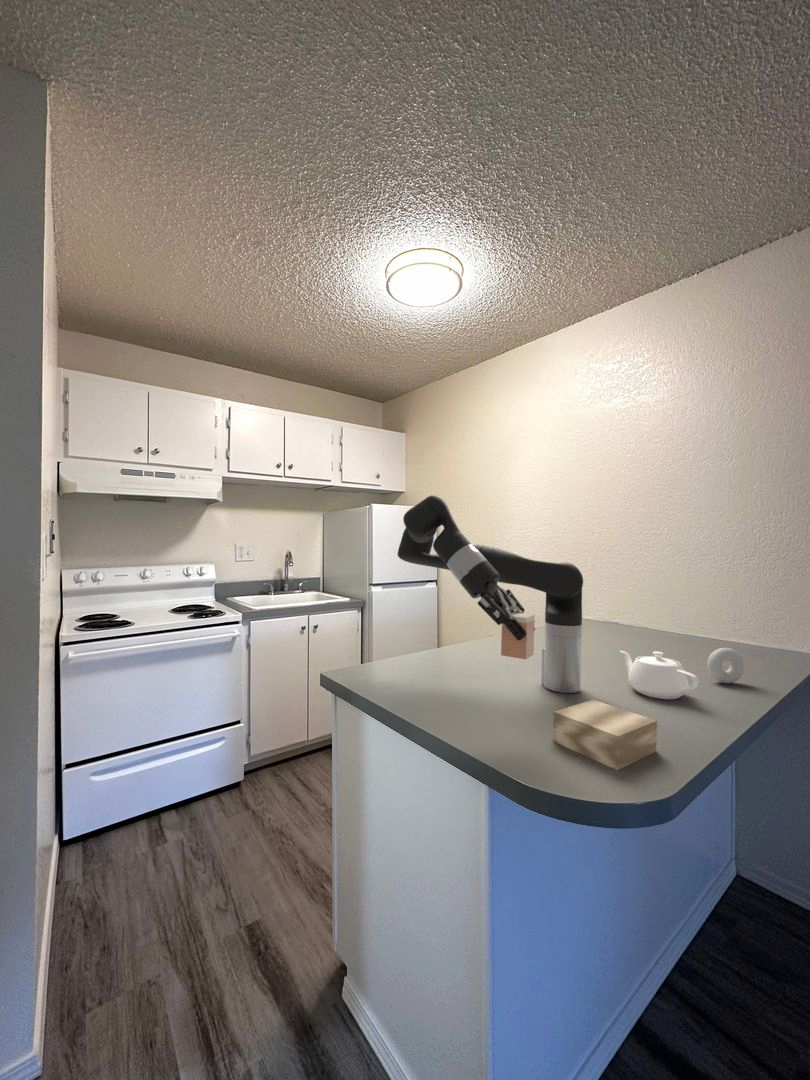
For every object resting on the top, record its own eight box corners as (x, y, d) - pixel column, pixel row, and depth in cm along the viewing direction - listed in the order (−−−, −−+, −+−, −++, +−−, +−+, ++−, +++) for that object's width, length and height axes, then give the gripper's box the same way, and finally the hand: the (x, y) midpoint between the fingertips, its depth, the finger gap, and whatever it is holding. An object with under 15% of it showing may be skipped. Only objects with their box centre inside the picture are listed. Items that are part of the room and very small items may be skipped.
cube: (501, 655, 89) (502, 615, 89) (509, 650, 94) (510, 612, 94) (525, 659, 87) (527, 617, 87) (533, 654, 91) (534, 614, 91)
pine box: (553, 742, 87) (553, 711, 87) (592, 728, 94) (593, 699, 94) (617, 771, 76) (618, 736, 76) (656, 753, 84) (656, 720, 84)
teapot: (715, 703, 110) (715, 659, 110) (677, 711, 105) (678, 664, 105) (636, 678, 130) (637, 640, 130) (601, 683, 125) (602, 644, 125)
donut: (738, 681, 129) (738, 646, 129) (747, 685, 126) (748, 649, 126) (703, 681, 129) (704, 646, 129) (712, 684, 125) (713, 649, 125)
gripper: (474, 580, 103) (525, 640, 97) (445, 584, 91) (501, 653, 84) (497, 558, 100) (551, 618, 94) (470, 559, 88) (530, 629, 82)
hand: (527, 634), depth 89 cm, fingers closed on cube, 5 cm apart
